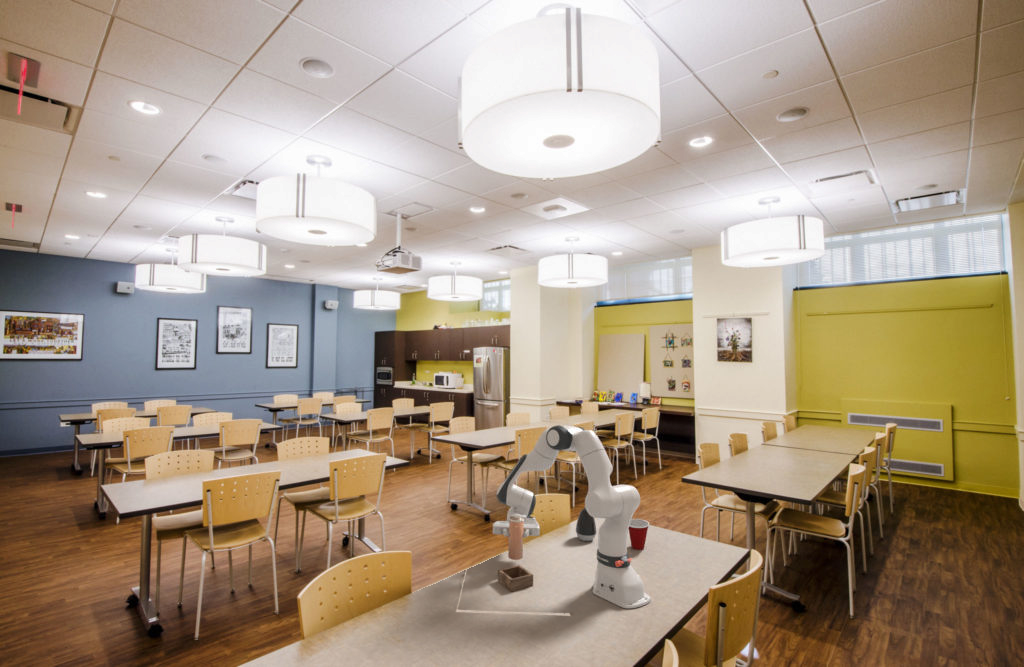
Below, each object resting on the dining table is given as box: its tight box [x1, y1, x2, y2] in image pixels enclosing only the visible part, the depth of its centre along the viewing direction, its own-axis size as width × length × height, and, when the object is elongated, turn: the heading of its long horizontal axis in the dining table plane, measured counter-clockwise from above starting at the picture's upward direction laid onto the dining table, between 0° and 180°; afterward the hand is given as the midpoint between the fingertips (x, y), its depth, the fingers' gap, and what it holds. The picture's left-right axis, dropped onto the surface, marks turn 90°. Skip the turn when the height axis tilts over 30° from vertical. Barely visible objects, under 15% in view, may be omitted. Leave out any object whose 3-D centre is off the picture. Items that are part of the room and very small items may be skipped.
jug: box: [507, 516, 524, 561], centre depth 198 cm, size 9×6×16 cm
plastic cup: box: [628, 518, 650, 551], centre depth 227 cm, size 11×11×12 cm
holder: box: [497, 564, 534, 593], centre depth 185 cm, size 10×10×5 cm
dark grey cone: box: [575, 506, 597, 542], centre depth 236 cm, size 10×10×15 cm
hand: (516, 535), depth 198 cm, fingers closed on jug, 6 cm apart
